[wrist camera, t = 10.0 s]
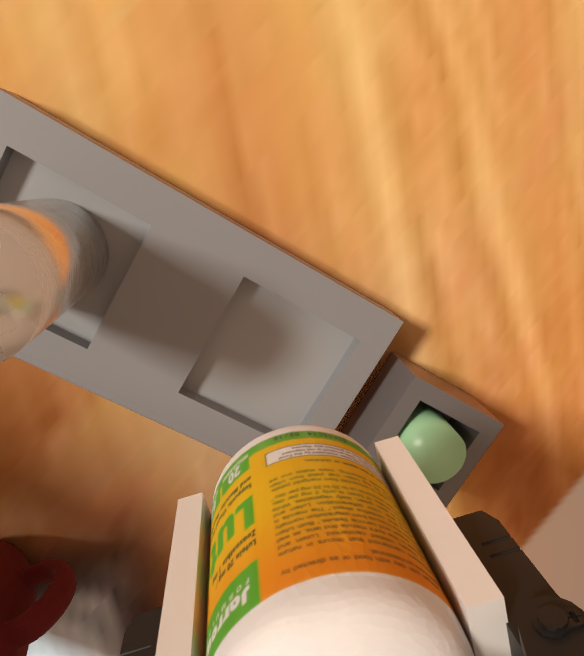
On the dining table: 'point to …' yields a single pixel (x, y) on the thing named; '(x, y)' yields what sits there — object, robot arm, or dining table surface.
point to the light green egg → (433, 444)
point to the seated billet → (45, 265)
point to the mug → (30, 598)
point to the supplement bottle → (319, 557)
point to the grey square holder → (400, 401)
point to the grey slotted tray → (189, 300)
